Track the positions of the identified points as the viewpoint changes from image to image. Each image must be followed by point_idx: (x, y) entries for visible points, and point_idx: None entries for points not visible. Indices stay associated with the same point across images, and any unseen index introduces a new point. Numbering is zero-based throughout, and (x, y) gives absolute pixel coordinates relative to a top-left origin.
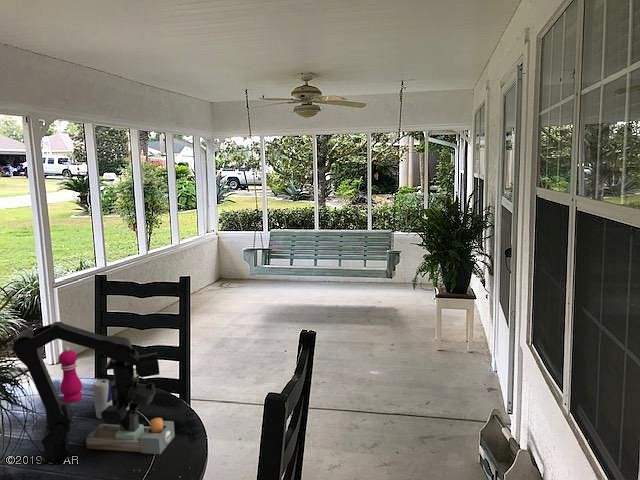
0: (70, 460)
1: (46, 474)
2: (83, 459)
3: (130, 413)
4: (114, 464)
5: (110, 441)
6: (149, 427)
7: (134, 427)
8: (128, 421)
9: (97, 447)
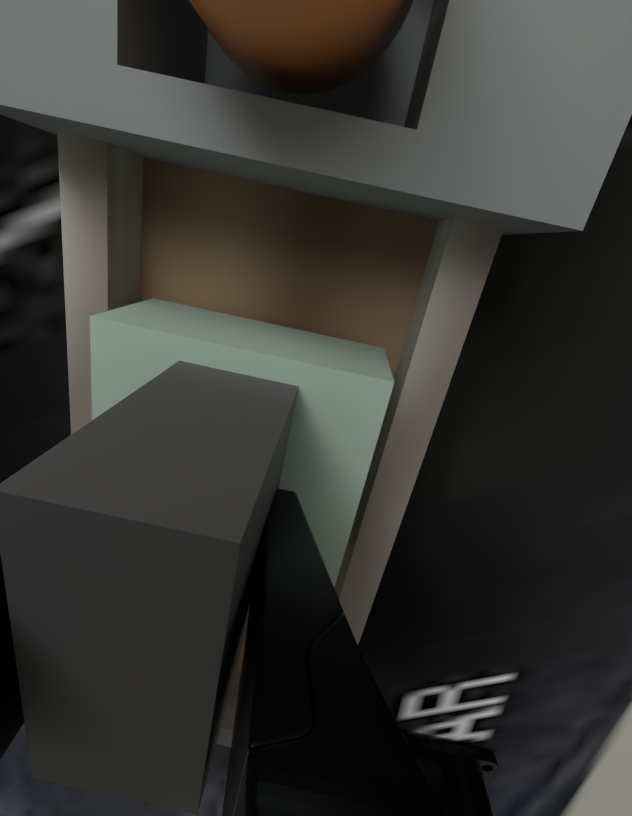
0: (460, 716)
1: (586, 780)
2: (467, 659)
3: (1, 650)
4: (621, 446)
5: (376, 587)
6: (215, 138)
7: (285, 417)
8: (297, 594)
9: None
